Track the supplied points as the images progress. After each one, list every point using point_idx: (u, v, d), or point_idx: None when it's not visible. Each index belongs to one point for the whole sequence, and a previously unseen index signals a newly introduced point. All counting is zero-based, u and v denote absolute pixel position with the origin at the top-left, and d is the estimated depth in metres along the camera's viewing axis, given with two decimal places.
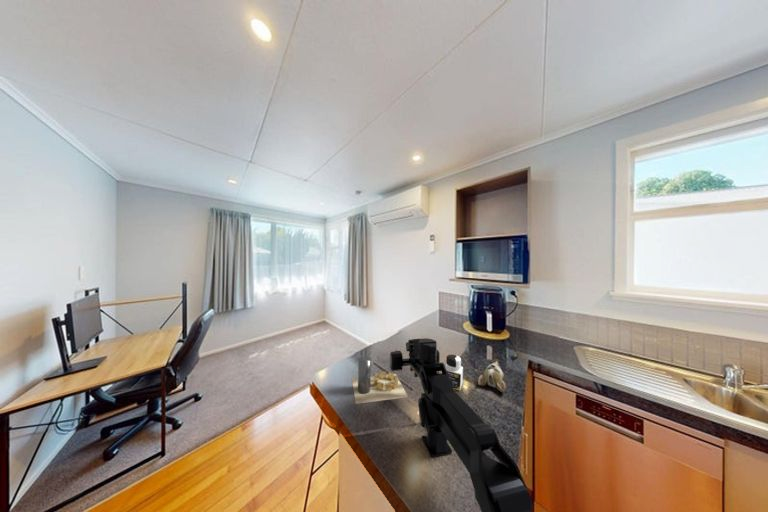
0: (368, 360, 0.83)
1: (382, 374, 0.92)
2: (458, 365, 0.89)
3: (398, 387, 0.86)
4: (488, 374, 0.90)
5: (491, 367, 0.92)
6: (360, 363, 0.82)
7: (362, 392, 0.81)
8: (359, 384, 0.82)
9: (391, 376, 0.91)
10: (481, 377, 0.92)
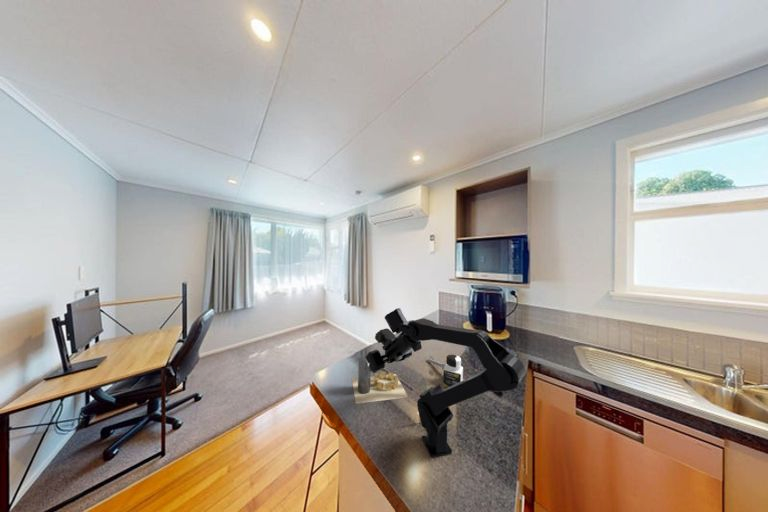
0: None
1: (382, 374, 0.92)
2: (458, 365, 0.89)
3: (398, 387, 0.86)
4: None
5: None
6: (360, 363, 0.82)
7: (362, 392, 0.81)
8: (359, 384, 0.82)
9: (391, 376, 0.91)
10: None
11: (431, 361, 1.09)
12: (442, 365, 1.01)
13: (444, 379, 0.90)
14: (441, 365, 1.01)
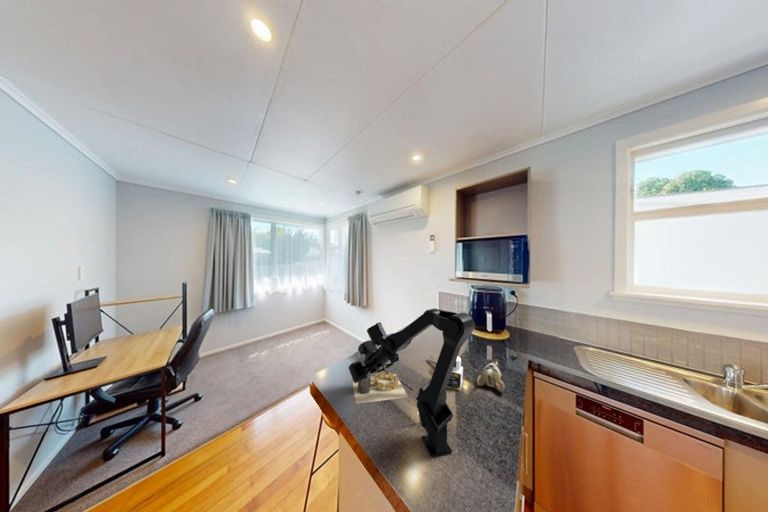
0: None
1: (382, 374, 0.92)
2: (458, 365, 0.89)
3: (398, 387, 0.86)
4: (487, 374, 0.90)
5: (489, 367, 0.92)
6: None
7: (362, 392, 0.81)
8: (359, 384, 0.82)
9: (391, 376, 0.91)
10: (479, 377, 0.92)
11: (431, 361, 1.09)
12: None
13: None
14: None
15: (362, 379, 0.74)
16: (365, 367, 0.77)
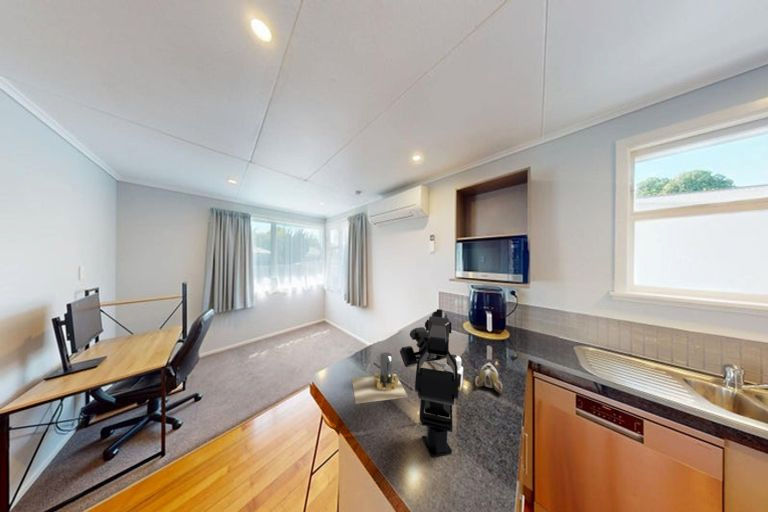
0: (389, 356, 0.87)
1: None
2: (459, 365, 0.89)
3: (398, 387, 0.86)
4: (485, 375, 0.89)
5: (487, 367, 0.92)
6: (381, 358, 0.87)
7: (383, 385, 0.86)
8: (380, 377, 0.87)
9: None
10: (477, 378, 0.91)
11: (431, 361, 1.09)
12: (442, 365, 1.01)
13: None
14: (441, 365, 1.01)
15: (413, 364, 0.72)
16: (417, 353, 0.74)
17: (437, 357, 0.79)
